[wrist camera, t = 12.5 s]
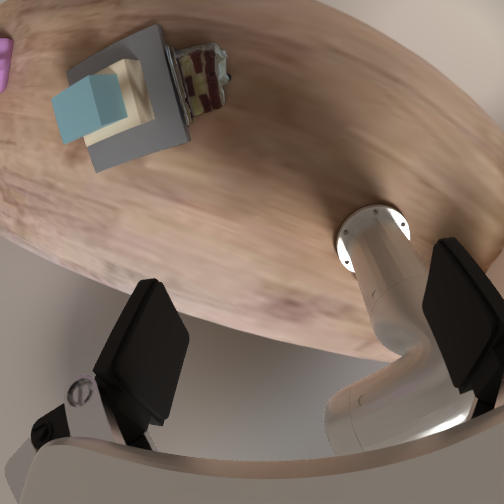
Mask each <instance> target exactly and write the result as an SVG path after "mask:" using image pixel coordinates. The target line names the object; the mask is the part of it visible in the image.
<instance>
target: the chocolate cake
mask: <svg viewBox="0 0 504 504" xmlns="http://www.w3.org/2000/svg"><path fill="white" fill-rule="evenodd" d="M165 45H166V44H165ZM165 49H166V52H167V57H168V59H169V62H170V66H171V70H172V71H171V72H172V75H173V78H174V82H175V85H176V88H177V91H178V95H179V98H180V102H181V105H182V108H183V111H184V117H185V119H186V124H187V126H188V127H189V125H190V124H191V123H193V120H192V117H193V116H197V115H200V114H201V113H203V112H204V113H207V112H210V111H213V110H215V109H219V108H221V107H222V106H223V104H224V103H225V96H224V90H223V89H222V85H224V84H228V83H229V81H230V80H231V76H230V75H228V74H226V59H227V55H226V52H225V50H220V48H219V47H218V46H217V44H216V43H213V42H210V43H205V44H203V45H197V46H193V47H188V48H185V49H177V50H174V47H173V46H168V45H166V48H165Z"/></svg>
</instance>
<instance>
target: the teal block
mask: <svg viewBox="0 0 504 504" xmlns="http://www.w3.org/2000/svg"><path fill="white" fill-rule="evenodd" d="M51 100H52V105H53V108H54V112H55V116H56V120H57V123H58V127H59V130H60V134H61V137H62V140H63V143H64V144H66V143H69V142H71V141H73V140H76V139H78V138H81V137H83V136H86V135H88V134H91V133H93V132H95V131H97V130H100V129H102V128H104V127H106V126H108V125H111V124H113V123H115V122H118V121H120V120H122V119H125V118H127V117H128V115H127V111H126V108H125V104H124V100H123V97H122V93H121V89H120V85H119V81H118V77H117V74H104V75H88V76H86V77H85V78H83V79H81V80H80V81H78V82H76V83H75V84H73V85H72V86H70V87H68V88H67V89H65V90H64V91H62V92H61V93H59V94H58V95H56V96H55V97H53V98H52V99H51Z"/></svg>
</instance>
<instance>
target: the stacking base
mask: <svg viewBox="0 0 504 504" xmlns="http://www.w3.org/2000/svg"><path fill="white" fill-rule="evenodd" d="M165 48H166V45H165V40H164V36H163V32H162V28H161V25H159V24H155V25H153V26H150V27H148V28H145V29H143V30H141V31H139V32H136V33H134V34H132V35H130V36H128V37H126V38H124V39H122V40H120V41H118V42H116V43H114V44H112V45H110V46H108V47H106V48H105V49H103V50H101V51H99V52H97V53H96V54H94V55H92V56H90V57H89V58H87V59H85V60H84V61H82V62H81V63H79V64H77V65H76V66H74V67H73V68H71V69H70V70H68V71H67V76H68V80H69V85H70V86H72V85H73V84H75V83H76V82H78V81H80V80H81V79H83V78H85V77H86V76H88V75H104V74H117V77H118V81H119V85H120V89H121V93H122V97H123V100H124V104H125V108H126V111H127V115H128V117H127V118H125V119H122V120H120V121H118V122H115V123H113V124H111V125H108V126H106V127H104V128H102V129H100V130H97V131H95V132H93V133H91V134H88V135H86V136H83V137H84V140H85V143H86V146H87V148H88V151H89V154H90V157H91V160H92V163H93V166H94V168H95V171H96V173H98V172H100V171H103V170H105V169H108V168H111V167H113V166H116V165H119V164H121V163H124V162H127V161H130V160H133V159H136V158H139V157H142V156H145V155H148V154H151V153H154V152H157V151H160V150H164V149H167V148H170V147H174V146H177V145H181V144H184V143H188V142H189V141H191V139H190V135H189V132H188V128H187V124H186V121H185V117H184V113H183V110H182V106H181V102H180V99H179V95H178V91H177V88H176V85H175V82H174V78H173V75H172V72H171V71H172V70H171V66H170V62H169V59H168V57H167V52H166V49H165Z"/></svg>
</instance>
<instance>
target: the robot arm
mask: <svg viewBox="0 0 504 504" xmlns="http://www.w3.org/2000/svg"><path fill="white" fill-rule="evenodd" d="M344 230H345V231H344ZM336 248H337V253H338V256H339V259H340V261H341V262H342V264H343V265H344V266H345V267H346V268H347V269H349V270H350V271H352V272H354V273H355V275H356V278H357V281H358V284H359V287H360V290H361V293H362V296H363V299H364V302H365V305H366V308H367V311H368V314H369V317H370V321H371V324H372V327H373V330H374V333H375V335H376V337H377V339H378V340H379V341H380V342H381V343H382V345H383V346H385V347H386V348H387V349H389V350H390V351H392V352H394V353H396V354H398V355H401V356H402V357H401V358H399V359H398V360H396V361H394V362H393V363H391V364H390V365H388V366H387V367H385V368H383V369H381V370H379V371H377V372H375V373H373V374H371V375H369V376H367V377H365V378H363V379H361V380H359V381H357V382H355V383H353V384H351V385H349V386H347V387H345V388H343V389H341V390H340V391H338V392H337V393H335V394H334V395H333V396H332V397H331V398H330V399H329V401H328V403H327V404H326V407H325V410H324V415H323V419H324V420H323V422H324V428H325V433H326V436H327V438H328V441H329V443H330V445H331V447H332V449H333V450H334V452H335V454H336V455H337V456H336V457H328V458H319V459H309V460H296V461H262V462H261V461H228V460H215V459H204V458H195V457H187V456H180V455H173V454H167V453H161V452H159V451H158V449H157V447H156V446H155V443H154V442H153V440H152V438H151V436H150V434H149V432H148V430H147V428H148V425H149V424H152V425H158V426H163V424H164V420H165V419H167V418H168V417H169V413H170V409H171V406H172V402H173V398H174V395H175V391H176V387H177V383H178V379H179V376H180V372H181V369H182V365H183V361H184V358H185V354H186V351H187V347H188V344H189V333H188V331H187V329H186V327H185V326H184V324H183V322H182V320H181V318H180V317H179V314H178V312H177V311H176V309H175V307H174V305H173V303H172V301H171V299H170V297H169V295H168V293H167V291H166V289H165V287H164V285H163V283H161V282H159V281H158V280H157V279H155V278H154V279H145V280H140V281H139V283H138V284H137V286H136V288H135V290H134V291H133V293H132V295H131V297H130V298H129V300H128V302H127V304H126V306H125V307H124V309H123V311H122V313H121V315H120V317H119V319H118V321H117V322H116V324H115V326H114V328H113V330H112V332H111V334H110V336H109V338H108V340H107V342H106V344H105V346H104V348H103V350H102V352H101V354H100V356H99V358H98V360H97V362H96V364H95V366H94V369H93V372H94V373H95V374H96V376H95V378H93V377H92V376H90V375H80V376H78V377H76V378H75V379H74V380H72V381H71V382H70V383H69V384H68V386H67V388H66V390H65V393H64V404H62V405H60V406H59V407H57V408H56V409H54V410H52V411H51V412H49V413H48V414H46V415H44V416H43V417H41V418H40V419H38V420H37V421H36V422H35V424H34V425H33V427H32V431H31V439H30V438H28V439H27V440H26V441H25V443H24V444H23V445H22V446H21V447H20V448H19V449H18V450H17V452H16V453H15V454H14V455H13V456H12V457H11V458H10V459H9V460H8V462H7V464H6V466H5V476H6V479H7V482H8V484H9V486H10V488H11V490H12V492H13V494H14V497H15V499H16V500H17V503H18V504H504V299H503V298H502V297H501V295H500V294H499V292H498V291H497V289H496V288H495V287H494V285H493V284H492V283H491V281H490V280H489V279H488V277H487V276H486V275H485V273H484V272H483V271H482V269H481V268H480V267H479V266H478V264H477V263H476V262H475V261H474V259H473V258H472V257H471V256H470V254H469V253H468V252H467V251H466V250H465V249H464V247H463V246H462V245H461V244H460V243H459V242H458V240H457V239H456V238H454V237H449V238H443V239H439V240H438V242H437V244H435V245H434V248H433V253H432V259H431V264H430V270H429V269H428V267H427V266H426V264H425V263H424V261H423V260H422V258H421V257H420V255H419V254H418V252H417V251H416V249H415V248H414V246H413V245H412V244H411V242H410V229H409V225H408V223H407V221H406V219H405V218H404V217H403V215H402V214H401V213H400V212H399V211H398V210H396V209H394V208H393V207H390V206H387V205H381V204H376V205H369V206H365V207H363V208H361V209H359V210H357V211H355V212H354V213H353V214H351V215H350V216H349V217H348V218H347V219H346V220H345V222H344V223H343V224H342V226H341V228H340V230H339V232H338V235H337V239H336Z"/></svg>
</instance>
